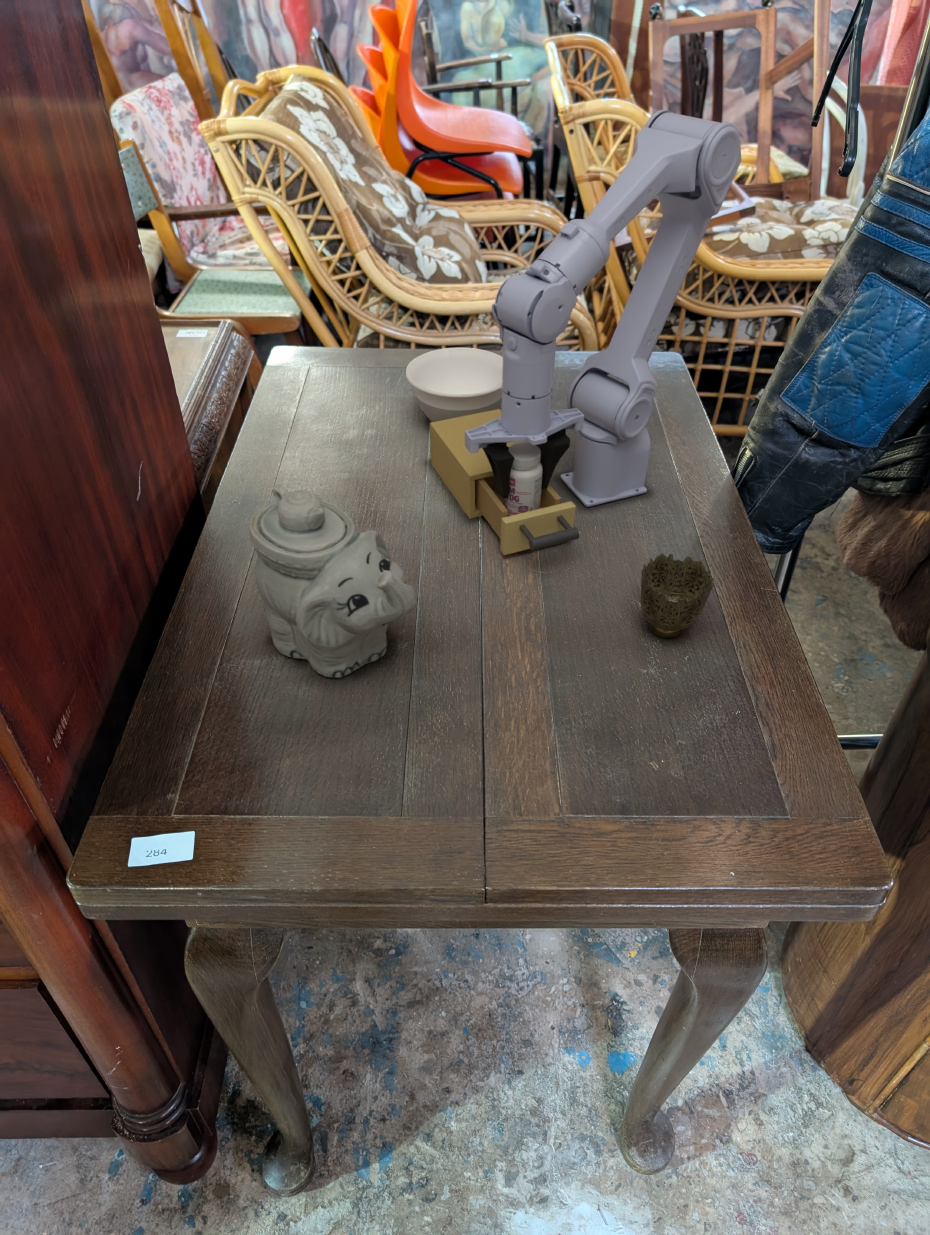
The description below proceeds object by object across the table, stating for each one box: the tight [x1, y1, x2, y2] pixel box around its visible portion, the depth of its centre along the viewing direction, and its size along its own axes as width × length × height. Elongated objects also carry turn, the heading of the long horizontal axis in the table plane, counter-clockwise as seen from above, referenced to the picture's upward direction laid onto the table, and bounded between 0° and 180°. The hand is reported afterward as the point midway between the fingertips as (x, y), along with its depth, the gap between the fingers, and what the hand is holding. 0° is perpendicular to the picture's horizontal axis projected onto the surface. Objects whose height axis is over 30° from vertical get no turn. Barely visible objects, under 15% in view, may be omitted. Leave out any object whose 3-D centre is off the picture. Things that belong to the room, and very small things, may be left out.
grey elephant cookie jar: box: [248, 484, 417, 679], centre depth 80 cm, size 16×15×19 cm
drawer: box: [475, 476, 580, 556], centre depth 100 cm, size 18×9×5 cm, turn 22°
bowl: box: [405, 346, 503, 423], centre depth 120 cm, size 16×16×9 cm
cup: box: [640, 552, 715, 639], centre depth 86 cm, size 8×7×8 cm
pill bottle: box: [502, 442, 543, 516], centre depth 98 cm, size 5×5×8 cm
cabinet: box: [429, 408, 529, 520], centre depth 108 cm, size 15×11×7 cm
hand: (521, 489), depth 99 cm, fingers closed on pill bottle, 5 cm apart
